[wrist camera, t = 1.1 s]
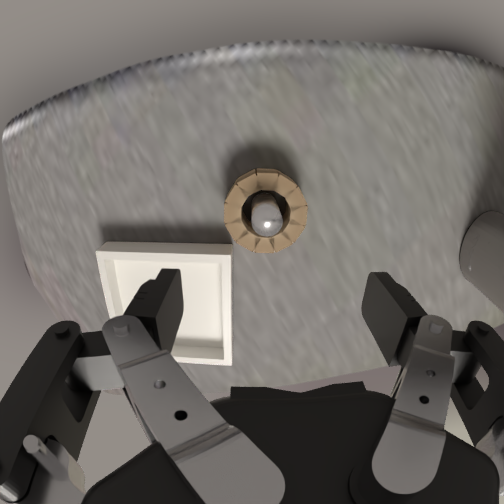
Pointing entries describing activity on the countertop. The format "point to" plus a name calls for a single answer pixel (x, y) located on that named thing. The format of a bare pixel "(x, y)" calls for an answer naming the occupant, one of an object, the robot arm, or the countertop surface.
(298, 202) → the oak ring
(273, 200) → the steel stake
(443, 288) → the countertop surface
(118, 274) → the white tray
